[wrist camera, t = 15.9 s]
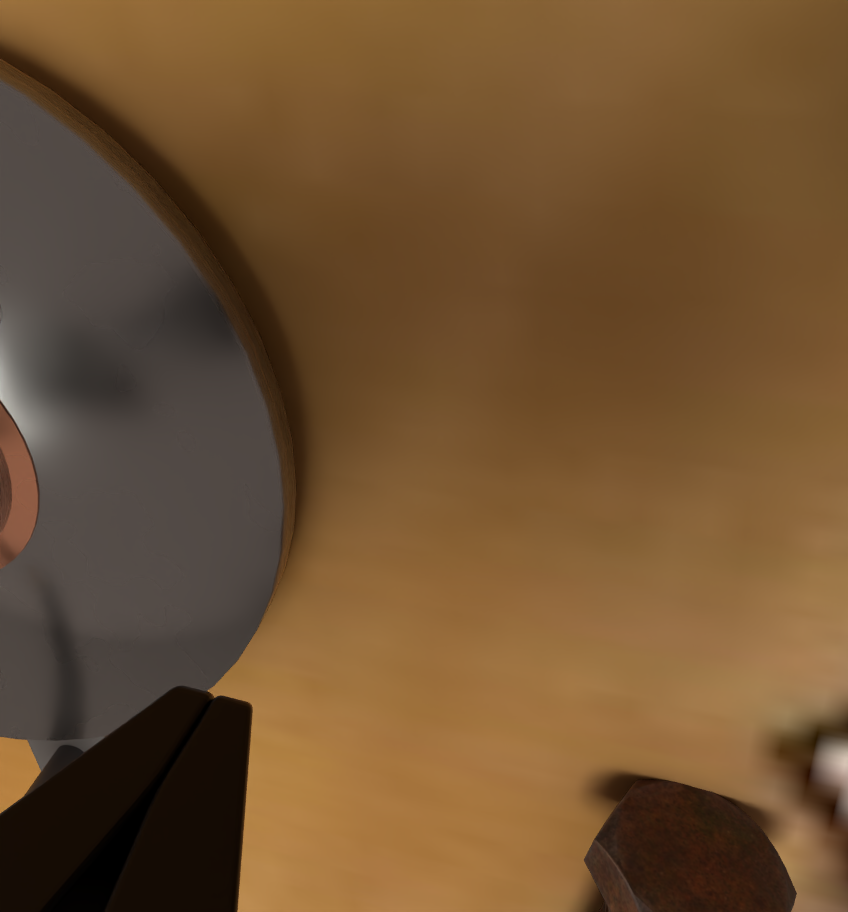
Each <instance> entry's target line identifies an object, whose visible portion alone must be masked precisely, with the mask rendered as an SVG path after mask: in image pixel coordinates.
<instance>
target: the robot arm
mask: <svg viewBox="0 0 848 912" xmlns="http://www.w3.org/2000/svg"><path fill="white" fill-rule="evenodd" d="M252 712H253V708H252V705H251V704H250V703H248V702H245V701H241V700H238V699H234V698H230V697H226V696H217V697H216V698H214V696H213V694H211V693H209V692H207V691H203V690H199V689H195V688H191V687H188V686H181V685H180V686H176V687H174V688H172V689H170V690H169V691H167V692H166V693H165V694H163V695H162V696H161V697H159V698H158V699H157V700H155V701H154V702H152V703H151V704H150V705H148V706H147V707H146V708H144V709H143V710H142V711H140V712H139V713H137V714H136V715H135V716H133V717H132V718H131V719H129V720H128V721H126V722H125V723H124V724H122V725H121V726H120V727H118V728H117V729H116V730H114V731H113V732H111V733H110V734H109V735H107V736H106V737H105V738H103V739H102V740H100V741H99V742H98V743H96V744H95V745H94V746H92V747H91V748H90V749H88V750H87V751H85V752H84V753H83V754H81V755H80V756H79V757H77V758H76V759H74V760H73V761H72V762H70V763H69V764H68V765H66V766H65V767H64V768H62V769H61V770H59V771H58V772H57V773H55V774H54V775H53V776H51V777H50V778H48V779H47V780H46V781H44V782H43V783H42V784H40V785H39V786H38V787H36V788H35V789H33V790H32V791H31V792H29V793H28V794H27V795H25V796H24V797H22V798H21V799H20V800H18V801H17V802H16V803H14V804H13V805H12V806H10V807H9V808H7V809H6V810H5V811H3V812H2V813H1V814H0V912H237V910H238V897H239V884H240V871H241V857H242V844H243V831H244V818H245V804H246V791H247V778H248V765H249V752H250V738H251V725H252Z"/></svg>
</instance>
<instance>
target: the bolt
mask: <svg viewBox="0 0 848 912" xmlns="http://www.w3.org/2000/svg"><path fill="white" fill-rule="evenodd" d="M584 861H585V863H586V865H587V867H588V869H589V871H590V873H591V875H592V877H593V879H594V881H595V883H596V885H597V887H598V889H599V890H600V892H601V894H602V896H603V898H604V900H605V901H604V903H603V904H602V907H601V909H600V910H599V912H791V910H792V908H793V905H794V902H795V898H796V894H797V893H796V891H795V888H794V886H793V884H792V881H791V879H790V877H789V874H788V872H787V870H786V867H785V866H784V864H783V862H782V860H781V858H780V856H779V854H778V852H777V851H776V849H775V848H774V846H773V845H772V843H771V842H770V840H769V839H768V837H767V836H766V835H765V833H764V832H763V831H762V829H761V828H760V827H759V826H758V825H757V824H756V823H755V822H754V821H753V820H752V819H751V818H750V817H749V816H748V815H747V814H746V813H745V812H743V811H742V810H741V809H740V808H739V807H737V806H736V805H734V804H733V803H731V802H729V801H728V800H726V799H724V798H723V797H721V796H719V795H717V794H715V793H713V792H710V791H706V790H702V789H698V788H695V787H691V786H688V785H685V784H681V783H677V782H672V781H664V780H637V781H636V782H635V783H634V784H633V785H632V787H631V788H630V789H629V791H628V792H627V793H626V795H625V796H624V797H623V799H622V800H621V801H620V802H619V804H618V805H617V806H616V808H615V809H614V811H613V812H612V814H611V815H610V816H609V818H608V819H607V821H606V822H605V824H604V825H603V827H602V828H601V830H600V831H599V833H598V834H597V836H596V838H595V839H594V841H593V843H592V845H591V847H590V849H589V851H588V853H587V855H586V857H585V859H584Z"/></svg>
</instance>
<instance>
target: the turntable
mask: <svg viewBox="0 0 848 912" xmlns="http://www.w3.org/2000/svg"><path fill="white" fill-rule="evenodd" d="M0 447H1V450H2V452H3V454H4V457H5V460H6V463H7V466H8V469H9V474H10V479H11V484H12V504H11V511H10V515H9V518H8V521H7V523H6V525H5V527H4V529H3V531H2V533H1V534H0V737H6V738H14V739H25V740H50V741H59V740H74V739H88V738H96V737H101V736H106V735H109V734H110V733H111V732H113V731H114V730H116V729H117V728H118V727H120V726H121V725H122V724H124V723H125V722H126V721H128V720H129V719H131V718H132V717H133V716H135V715H136V714H137V713H139V712H140V711H142V710H143V709H144V708H146V707H147V706H148V705H150V704H151V703H152V702H154V701H155V700H157V699H158V698H159V697H161V696H162V695H163V694H165V693H166V692H167V691H169V690H170V689H172V688H174V687H176V686H180V685H181V686H188V687H191V688H195V689H199V690H203V691H207V690H209V689H210V688H211V687H213V686H214V685H215V684H216V683H217V682H218V681H219V680H220V679H221V678H222V677H223V676H224V674H225V673H226V672H227V671H228V670H229V669H230V668H231V667H232V666H233V665H234V664H235V663H236V661H237V660H238V659H239V657H240V656H241V654H242V653H243V651H244V650H245V648H246V646H247V645H248V643H249V642H250V640H251V639H252V637H253V635H254V634H255V632H256V631H257V629H258V627H259V625H260V623H261V621H262V619H263V617H264V615H265V613H266V611H267V610H268V608H269V606H270V604H271V602H272V600H273V597H274V595H275V592H276V590H277V587H278V585H279V582H280V580H281V577H282V575H283V573H284V570H285V568H286V563H287V559H288V554H289V550H290V545H291V541H292V536H293V531H294V521H295V503H296V476H295V465H294V454H293V443H292V437H291V433H290V428H289V424H288V420H287V415H286V411H285V407H284V403H283V398H282V394H281V390H280V387H279V384H278V382H277V379H276V376H275V374H274V371H273V368H272V366H271V363H270V360H269V358H268V355H267V352H266V349H265V347H264V344H263V341H262V339H261V337H260V335H259V333H258V331H257V329H256V327H255V325H254V323H253V321H252V319H251V317H250V315H249V313H248V311H247V309H246V307H245V305H244V303H243V301H242V299H241V298H240V296H239V294H238V292H237V290H236V288H235V286H234V284H233V283H232V281H231V280H230V278H229V277H228V275H227V274H226V272H225V271H224V269H223V268H222V266H221V264H220V263H219V261H218V260H217V258H216V257H215V255H214V254H213V252H212V251H211V249H210V248H209V246H208V245H207V243H206V242H205V240H204V239H203V237H202V236H201V234H200V233H199V231H198V230H197V229H196V228H195V227H194V225H193V224H192V223H191V222H190V221H189V219H188V218H187V217H186V216H185V215H184V213H183V212H182V211H181V210H180V209H179V207H178V206H177V205H176V204H175V203H174V201H173V200H172V199H171V198H170V197H169V195H168V194H167V193H166V192H165V191H164V189H163V188H162V187H161V186H160V185H159V183H158V182H157V181H156V180H155V179H154V178H153V177H152V176H151V175H150V174H149V173H148V172H147V171H146V170H145V169H144V168H143V167H142V166H141V165H140V164H139V163H138V162H137V161H136V160H134V159H133V158H132V157H131V156H130V155H129V154H128V153H127V152H126V151H125V150H124V149H123V148H122V147H121V146H120V145H119V144H118V143H117V142H116V141H115V140H114V139H113V138H112V137H111V136H110V135H109V134H108V133H107V132H105V131H104V130H103V129H101V128H100V127H99V126H98V125H96V124H95V123H94V122H92V121H91V120H90V119H89V118H87V117H86V116H85V115H84V114H82V113H81V112H80V111H78V110H77V109H76V108H75V107H73V106H72V105H71V104H69V103H68V102H67V101H66V100H64V99H63V98H62V97H60V96H59V95H58V94H57V93H55V92H54V91H53V90H51V89H50V88H48V87H46V86H45V85H43V84H42V83H40V82H38V81H37V80H35V79H33V78H32V77H30V76H29V75H27V74H25V73H24V72H22V71H20V70H19V69H17V68H15V67H14V66H12V65H11V64H9V63H7V62H6V61H4V60H2V59H1V58H0Z"/></svg>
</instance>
